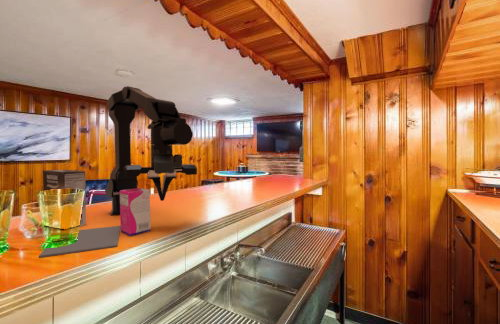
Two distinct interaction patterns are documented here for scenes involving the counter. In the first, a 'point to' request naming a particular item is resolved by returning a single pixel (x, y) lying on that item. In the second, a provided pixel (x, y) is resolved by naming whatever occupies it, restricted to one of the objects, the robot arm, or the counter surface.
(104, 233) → the bar mat
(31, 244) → the counter surface
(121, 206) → the supplement box
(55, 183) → the coffee box
